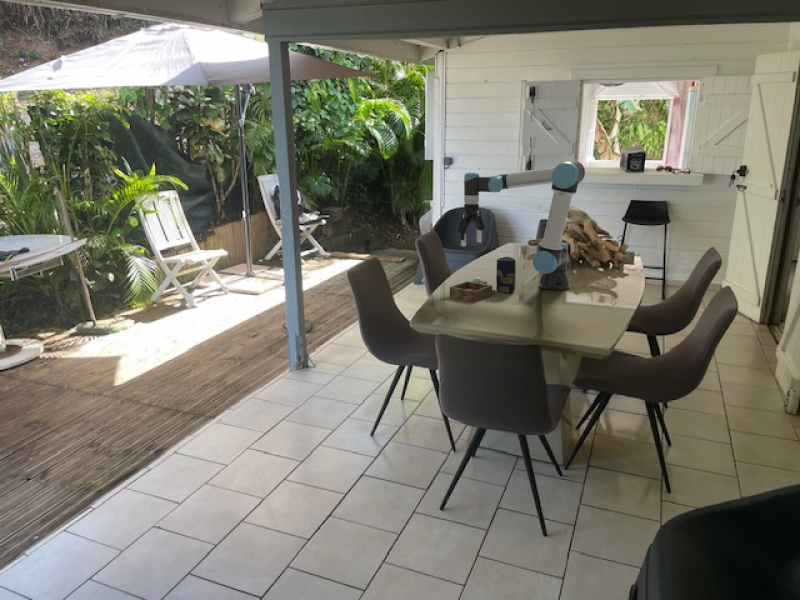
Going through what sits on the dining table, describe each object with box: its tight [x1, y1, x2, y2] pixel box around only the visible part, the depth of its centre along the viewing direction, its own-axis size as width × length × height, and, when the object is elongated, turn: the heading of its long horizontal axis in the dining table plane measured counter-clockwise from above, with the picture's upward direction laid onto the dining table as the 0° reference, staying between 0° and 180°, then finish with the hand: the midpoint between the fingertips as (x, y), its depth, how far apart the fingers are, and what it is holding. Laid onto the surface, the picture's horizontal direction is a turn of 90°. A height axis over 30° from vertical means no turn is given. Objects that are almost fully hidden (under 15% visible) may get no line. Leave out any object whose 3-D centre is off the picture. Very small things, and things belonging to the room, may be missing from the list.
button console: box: [469, 279, 488, 285], centre depth 316 cm, size 7×7×4 cm
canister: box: [495, 256, 517, 294], centre depth 306 cm, size 10×10×18 cm
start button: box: [473, 277, 482, 283], centre depth 315 cm, size 4×4×4 cm
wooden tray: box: [449, 280, 497, 303], centre depth 302 cm, size 15×18×5 cm
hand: (471, 244), depth 319 cm, fingers open, 13 cm apart
